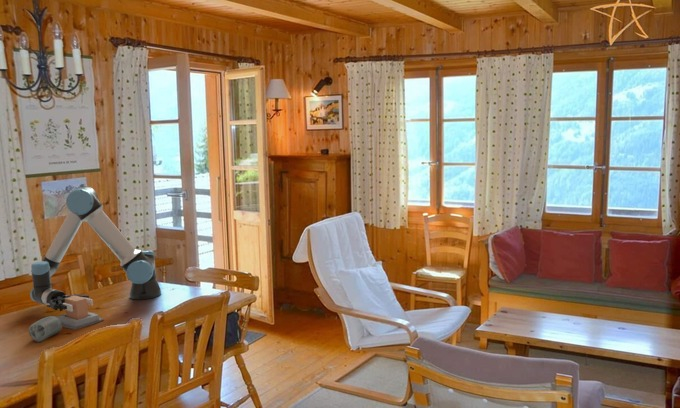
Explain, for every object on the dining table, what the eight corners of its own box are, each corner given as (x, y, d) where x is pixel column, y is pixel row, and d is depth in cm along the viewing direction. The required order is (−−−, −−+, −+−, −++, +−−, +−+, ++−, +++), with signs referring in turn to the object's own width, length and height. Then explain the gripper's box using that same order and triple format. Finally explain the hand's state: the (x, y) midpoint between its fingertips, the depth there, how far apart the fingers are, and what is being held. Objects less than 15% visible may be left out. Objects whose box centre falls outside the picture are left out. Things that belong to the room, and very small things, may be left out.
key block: (77, 317, 265) (75, 295, 264) (88, 320, 260) (86, 298, 258) (66, 320, 261) (64, 298, 260) (78, 323, 256) (76, 301, 254)
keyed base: (81, 314, 271) (81, 308, 270) (103, 320, 261) (102, 314, 261) (52, 323, 260) (51, 316, 259) (73, 330, 250) (73, 323, 249)
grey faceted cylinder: (43, 337, 232) (36, 313, 235) (26, 346, 235) (20, 323, 238) (70, 334, 245) (64, 311, 247) (54, 342, 248) (48, 320, 250)
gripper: (77, 300, 279) (105, 307, 266) (31, 312, 261) (59, 320, 248) (75, 284, 278) (103, 291, 265) (29, 296, 260) (57, 303, 247)
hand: (82, 305), depth 257 cm, fingers open, 9 cm apart
